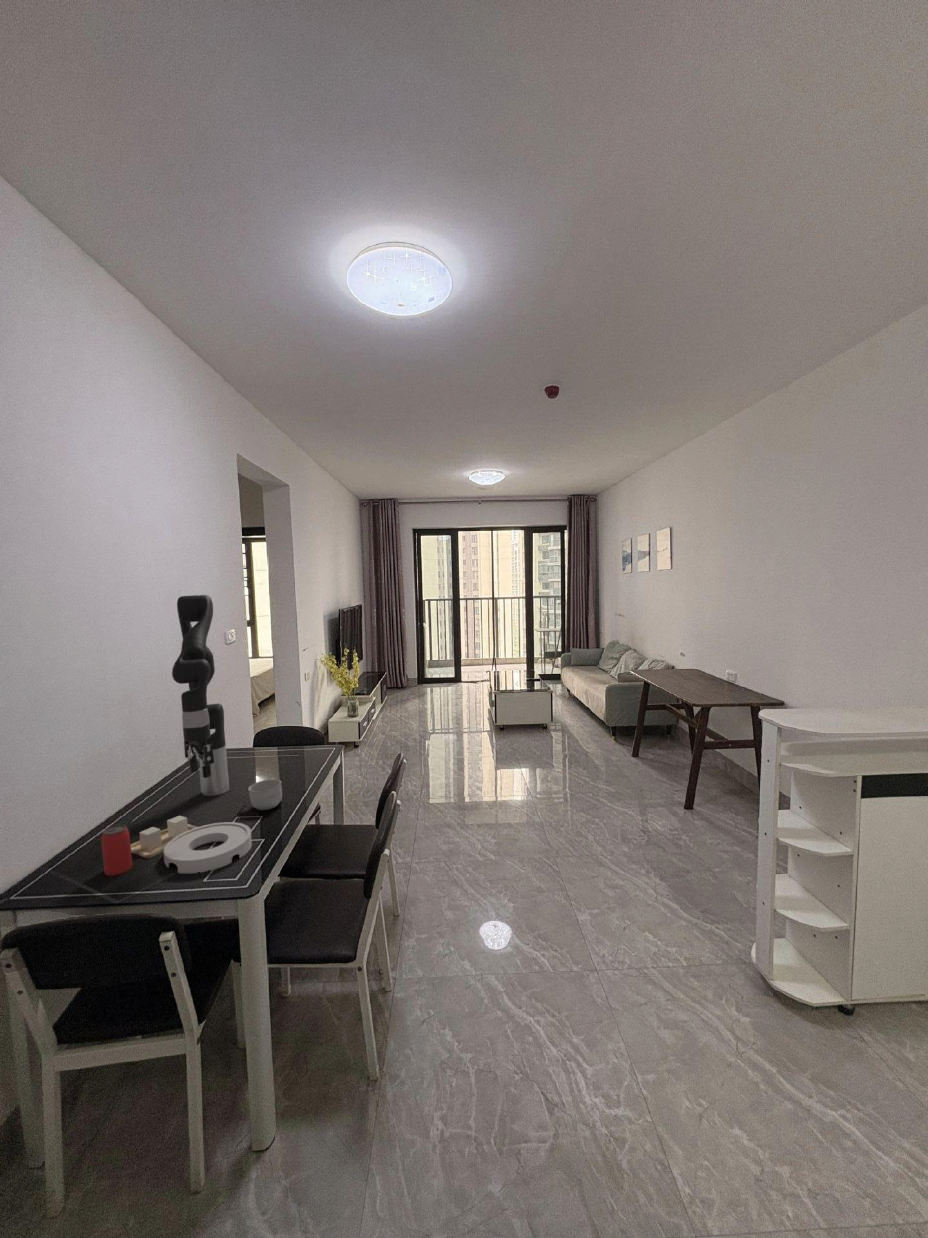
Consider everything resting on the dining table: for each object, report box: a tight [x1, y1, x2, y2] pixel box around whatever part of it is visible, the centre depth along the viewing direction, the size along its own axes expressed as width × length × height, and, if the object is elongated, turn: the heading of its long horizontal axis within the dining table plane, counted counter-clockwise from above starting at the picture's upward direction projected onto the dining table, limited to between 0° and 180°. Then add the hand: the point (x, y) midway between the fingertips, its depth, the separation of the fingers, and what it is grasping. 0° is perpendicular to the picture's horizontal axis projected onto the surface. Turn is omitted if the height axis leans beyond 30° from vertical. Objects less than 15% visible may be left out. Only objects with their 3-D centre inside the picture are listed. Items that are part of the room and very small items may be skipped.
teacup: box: [247, 777, 283, 811], centre depth 192 cm, size 14×11×8 cm
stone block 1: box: [139, 826, 162, 851], centre depth 163 cm, size 4×4×5 cm
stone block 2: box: [166, 815, 189, 838], centre depth 171 cm, size 4×4×5 cm
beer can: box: [101, 824, 133, 876], centre depth 151 cm, size 7×7×12 cm
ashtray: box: [163, 821, 253, 874], centre depth 160 cm, size 23×23×4 cm
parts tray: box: [130, 823, 198, 859], centre depth 167 cm, size 12×18×1 cm, turn 150°
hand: (200, 774), depth 172 cm, fingers open, 8 cm apart
